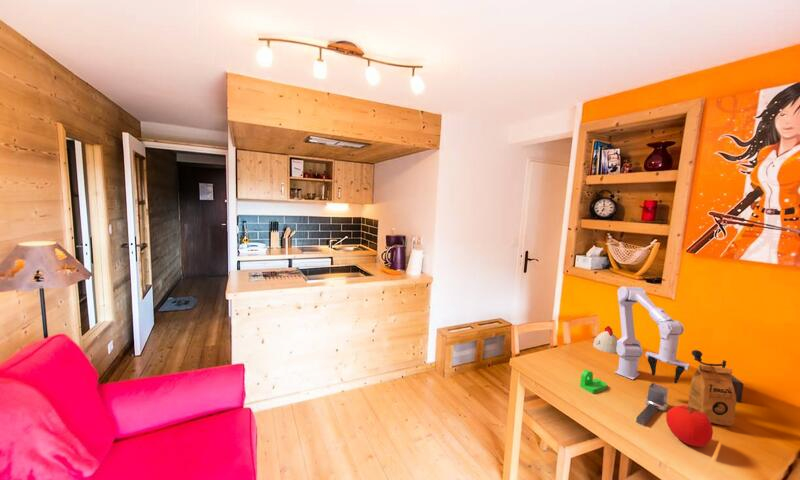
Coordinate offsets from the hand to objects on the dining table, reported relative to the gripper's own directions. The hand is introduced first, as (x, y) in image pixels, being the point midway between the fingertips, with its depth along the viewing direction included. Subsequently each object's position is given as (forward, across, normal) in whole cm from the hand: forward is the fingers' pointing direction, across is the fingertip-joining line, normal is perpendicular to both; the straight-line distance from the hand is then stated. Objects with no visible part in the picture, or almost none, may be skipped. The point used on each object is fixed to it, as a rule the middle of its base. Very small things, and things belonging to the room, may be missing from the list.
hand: (664, 378), depth 139 cm
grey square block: (+8, 0, -8) cm, 11 cm away
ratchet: (+10, 0, -8) cm, 13 cm away
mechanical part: (+10, -21, -14) cm, 28 cm away
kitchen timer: (+10, -35, +37) cm, 52 cm away
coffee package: (+10, +15, 0) cm, 18 cm away
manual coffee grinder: (+10, +12, +28) cm, 32 cm away
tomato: (+10, +13, -25) cm, 30 cm away
